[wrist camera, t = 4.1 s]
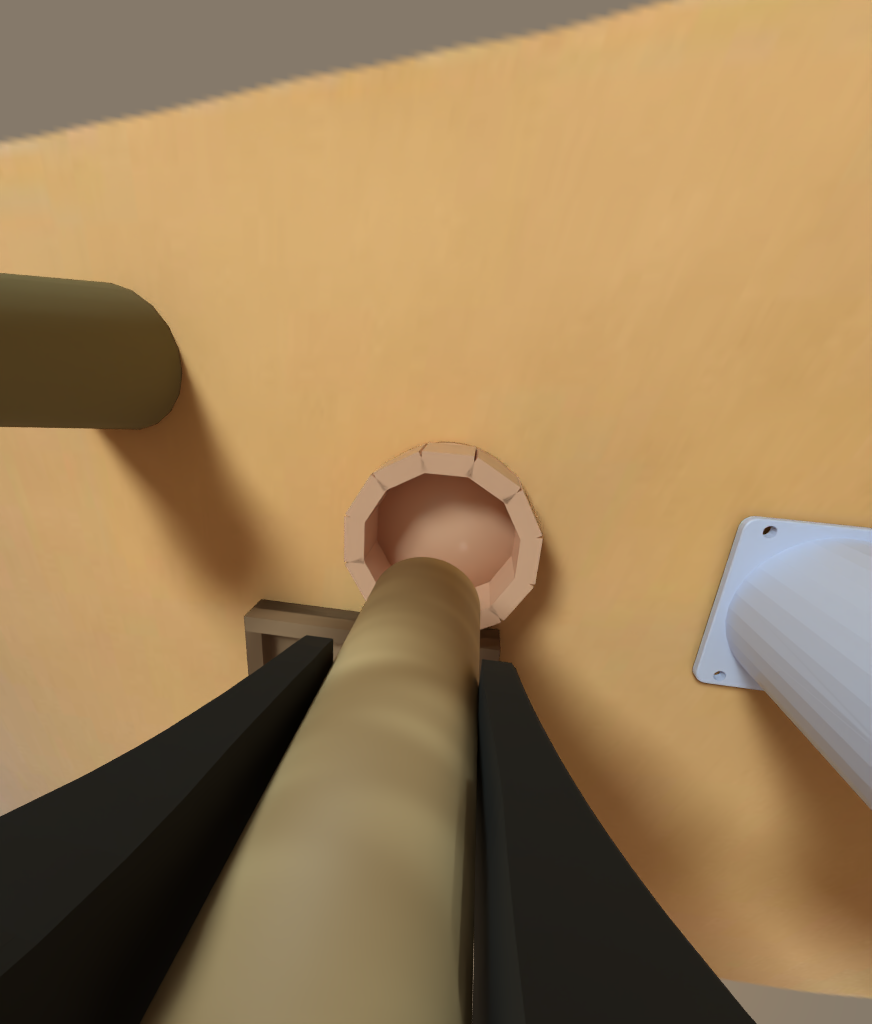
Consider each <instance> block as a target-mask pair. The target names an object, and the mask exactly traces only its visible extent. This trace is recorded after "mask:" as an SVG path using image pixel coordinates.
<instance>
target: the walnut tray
mask: <svg viewBox="0 0 872 1024" xmlns="http://www.w3.org/2000/svg"><path fill="white" fill-rule="evenodd" d="M359 614H360V612H355V611H347V610H340V609H332V608H324V607H316V606H309V605H301V604H293V603H286V602H278V601H270V600H263V599H261V600H260V601H259V602H258V603H257V604H256V605H255V606H254V607H253V608H252V609H251V610H250V611H249V612H248V613H247V614H246V615H245V616H244V623H245V636H246V649H247V661H248V674H249V675H251V674H252V673H253V672H255V671H256V670H258V669H259V668H261V667H262V666H263V665H265V664H266V663H268V662H269V661H270V660H272V659H273V658H274V657H276V656H277V655H279V654H280V653H281V652H283V651H284V650H286V649H287V648H288V647H290V646H291V645H293V644H294V643H295V642H297V641H298V640H300V639H301V638H303V637H304V636H306V635H310V636H317V637H325V638H332V639H333V662H334V660H335V658H336V656H337V655H338V653H339V651H340V649H341V647H342V645H343V643H344V642H345V640H346V638H347V636H348V634H349V632H350V630H351V629H352V627H353V625H354V623H355V621H356V619H357V617H358V615H359ZM499 656H500V637H499V630H494V629H486V628H484V629H481V630H480V655H479V679H480V671H481V664H482V659H486V660H493V661H499Z"/></svg>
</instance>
